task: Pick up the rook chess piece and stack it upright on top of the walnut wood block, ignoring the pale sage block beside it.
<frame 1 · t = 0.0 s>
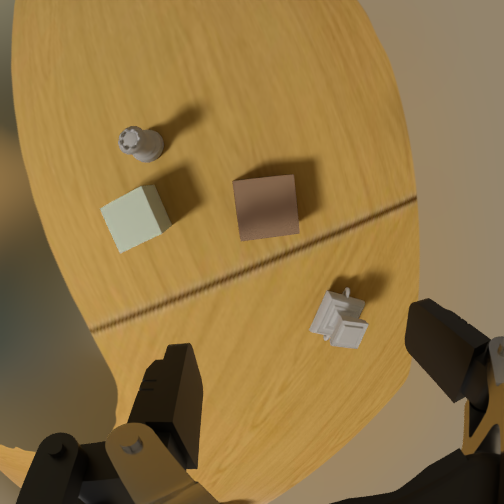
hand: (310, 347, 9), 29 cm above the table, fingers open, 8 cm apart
sage block: (144, 214, 36), on the table
walnut block: (262, 203, 37), on the table
rook chess piece: (149, 146, 34), on the table
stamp: (331, 307, 42), on the table
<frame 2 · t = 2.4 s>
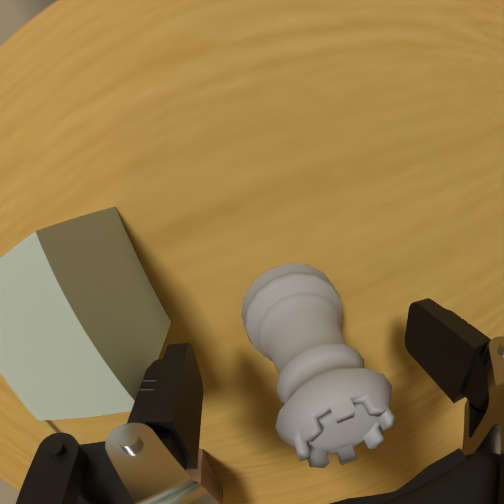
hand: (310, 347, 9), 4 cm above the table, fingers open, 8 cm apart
sage block: (94, 287, 12), on the table, touching gripper
walnut block: (170, 471, 16), on the table
rook chess piece: (288, 303, 13), on the table
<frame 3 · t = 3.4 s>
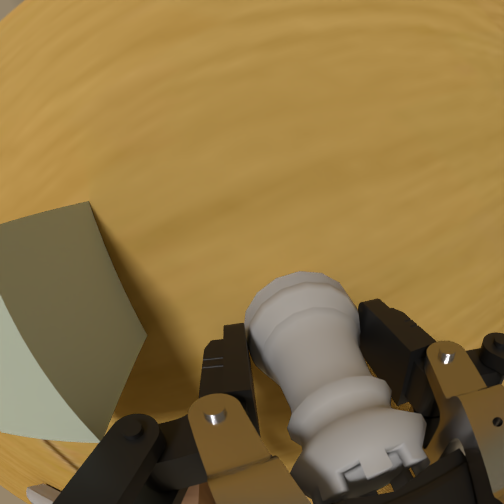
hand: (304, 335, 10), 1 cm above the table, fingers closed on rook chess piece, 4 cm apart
sage block: (65, 291, 10), on the table
walnut block: (166, 486, 14), on the table
rook chess piece: (296, 316, 11), on the table, touching gripper
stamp: (63, 494, 16), on the table
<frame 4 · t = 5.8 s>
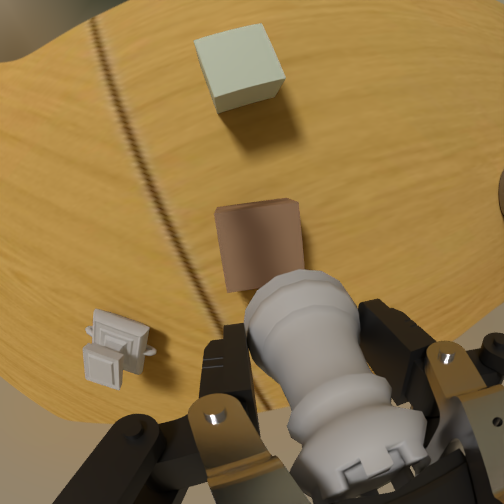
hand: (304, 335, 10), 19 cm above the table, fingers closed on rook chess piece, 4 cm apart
sage block: (236, 79, 24), on the table
walnut block: (256, 236, 29), on the table
rook chess piece: (296, 314, 11), point 18 cm above the table, touching gripper
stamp: (126, 330, 31), on the table
when the fingers open (7 cm above the table, at t = 8.4 s): rook chess piece stays where it is, resting on walnut block.
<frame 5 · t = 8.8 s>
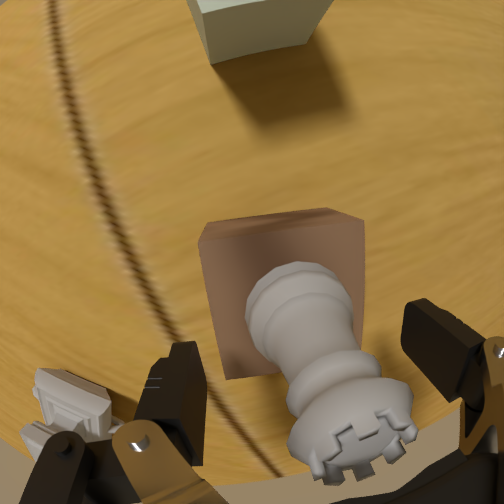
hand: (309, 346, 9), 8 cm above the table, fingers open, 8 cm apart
sage block: (244, 17, 13), on the table
walnut block: (274, 272, 17), on the table
rook chess piece: (294, 304, 12), point 5 cm above the table, touching walnut block
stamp: (86, 391, 19), on the table
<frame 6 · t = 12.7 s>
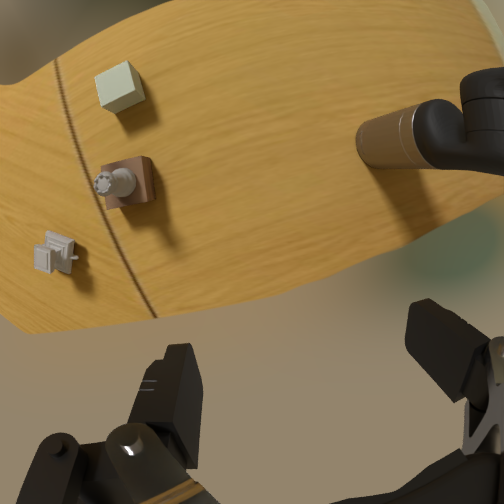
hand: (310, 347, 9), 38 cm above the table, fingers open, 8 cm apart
sage block: (126, 92, 39), on the table
walnut block: (133, 182, 43), on the table
rook chess piece: (124, 182, 38), point 5 cm above the table, touching walnut block
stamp: (65, 248, 45), on the table
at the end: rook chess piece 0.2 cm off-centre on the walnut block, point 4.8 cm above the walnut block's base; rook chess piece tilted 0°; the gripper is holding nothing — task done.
